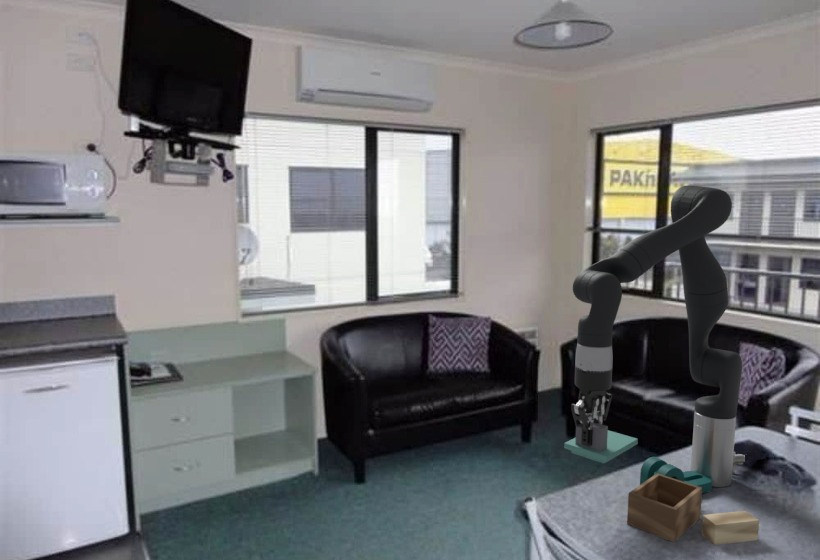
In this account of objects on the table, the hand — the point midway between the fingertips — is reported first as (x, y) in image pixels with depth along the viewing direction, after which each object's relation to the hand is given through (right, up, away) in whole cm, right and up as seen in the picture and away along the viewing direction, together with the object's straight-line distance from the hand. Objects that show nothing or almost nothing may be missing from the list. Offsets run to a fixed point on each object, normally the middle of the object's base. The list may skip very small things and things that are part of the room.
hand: (590, 442), depth 129 cm
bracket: (+26, -16, +15) cm, 34 cm away
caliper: (+50, -15, +30) cm, 60 cm away
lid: (+3, -2, +3) cm, 5 cm away
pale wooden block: (+27, -19, -5) cm, 33 cm away
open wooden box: (+17, -17, +2) cm, 24 cm away
